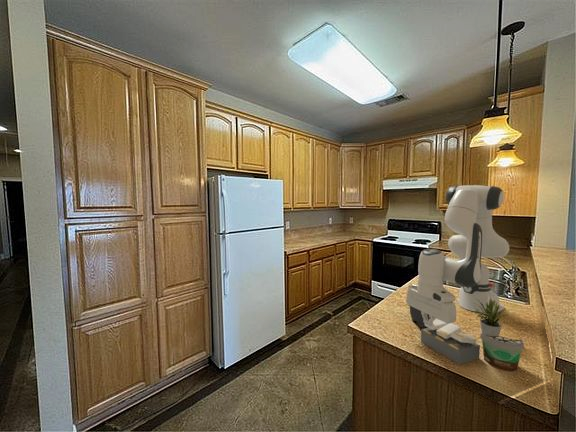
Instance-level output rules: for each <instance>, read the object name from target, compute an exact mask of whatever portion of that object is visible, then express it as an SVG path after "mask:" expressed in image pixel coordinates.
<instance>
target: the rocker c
mask: <svg viewBox="0 0 576 432" xmlns="http://www.w3.org/2000/svg"><path fill="white" fill-rule="evenodd" d="M450 337H452V338H454V339H456V340H458V341H460V342H464V343H475V344H477V338H475V337H473V336H472V335H470V334H467V333H462V332H461V333H460V332H459V333H455V332H451V336H450Z"/></svg>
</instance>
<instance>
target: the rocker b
mask: <svg viewBox="0 0 576 432" xmlns="http://www.w3.org/2000/svg"><path fill="white" fill-rule="evenodd" d="M436 331H437V334H438V335H439V336H441V337H443V338H445V339H448V338H450V336H451V332H455V333H460V332H462V327H461V326H459V325H457V324H454V323H449V324H447V325H445V326H444V327H442V328H440V329H438V330H436Z"/></svg>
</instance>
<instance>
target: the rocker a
mask: <svg viewBox="0 0 576 432" xmlns="http://www.w3.org/2000/svg"><path fill="white" fill-rule="evenodd" d="M447 324H448V323H445V322H443V321H441V320H439V319H437V318H436V319H435V320H434V321H433V325H432V326H429V325H427V324H425V326H426V327H428V328H430V329H432V330H436V329H440V328H442V327H444V326H445V325H447Z"/></svg>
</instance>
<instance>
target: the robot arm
mask: <svg viewBox="0 0 576 432" xmlns="http://www.w3.org/2000/svg"><path fill="white" fill-rule="evenodd" d="M444 197H445V202H446V204H447V205H448V206H447V209H446V211H445V214H444V224H445V225H446V226H447V228H448V229H450V230H451V231H453V232H454V233H456V234H454V235H452V236H450V237H449V239H448V241H447V245H448V249H449V250H450V252H452V253H453V254H454V255H455V256H456V257H457V258H453V257H450V256H446V255H444V253H443V251H442V250H440V249H436V248H426V249H423V250H422V251H421V252H420V254H419V257H418V258H419V259H418V264H417V265H418V266H417V267H418V269H417V271H418V278H417V284H415V283H411V284H409V285H408V287H407V288H408V289H407V293H406V299H405V302H406V304H407V305H408V306H409V305H410V306H412V307H414V308H416V309H418V310H420V311H421V314H422V316H423V319H424V321H423V322H424V323H425V324H427V325H429V326H432V325H433V321H434V320H435V319H439V320H441V321H443V322H445V323H448V324H449V323H453V324H454V323H456V320H457V305H456V304H455V301H456V302H457V303H458V306H459V307H461V308H463V309H465V310H467V311H471V312H474V311H478V310H479V311H480V312H483V311H484V310H483V309H484V308H485V310H486V308H487V307H486V303H488V305H489V300H490V297H491V299H492V301H494V300H495V303H494V306H493V311H494V308H495V304H496V301H497V306H498V304H499V309H498V311H497V314H498V313H499V312H502V311H504V310H505V309H506V306H504V305H503V304H501V303H500V297H499V295H498V294H496V293H495V292H494V291H493V290H492V288H494V286H495V283H494V282H489V281H490V270H489V267H488V266H487V265H486V264H484V263H482V257H483V258H504V257H506V256H507V255H508V254H509V252H510V245H509V242H508V241H507V240H506V238H504V237H502V236H500V235H499V234H498V233H497V232H496V231H495V230H494V227H493V210H494V211H495V210H497V209H499V208H501V206H502V204H503V203H504V200H505V194H504V191H503V189H502V188H501V187H498V186H493V185H491V186H488V185H482V184H473V185H472V184H471V185H469V184H467V185H459V184H456V185H452V186H450V187H448V188H447V190H446V192H445V196H444ZM443 281H445V282H449V283H453V284H456V285H459V286H461V287H460V289H459V295H458V298H457V297H456V295H455V294H453V293H451V292H450V291H449V290H448V289H447V288H445V287H444V282H443ZM478 300H479V301H480V302H481V303H482V304H483V306H484V308H483V307H482V305H481V304H480V302H479V301H478ZM474 303H475V304H474ZM477 304H478V305H477ZM410 306H409V307H410ZM478 306H479V307H478ZM480 306H481V307H480ZM474 307H475V308H474ZM476 308H477V309H478V310H477V309H476ZM481 309H482V310H483V311H482V310H481ZM484 313H486V312H485V311H484ZM427 314H429V317H430V319H428V316H427Z"/></svg>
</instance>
